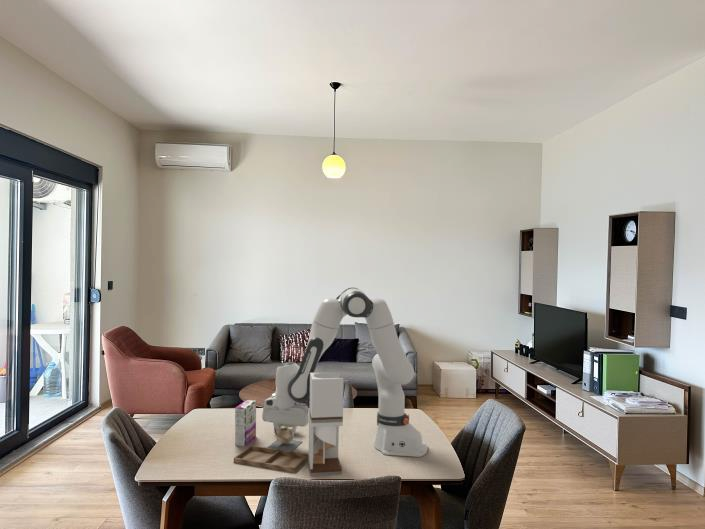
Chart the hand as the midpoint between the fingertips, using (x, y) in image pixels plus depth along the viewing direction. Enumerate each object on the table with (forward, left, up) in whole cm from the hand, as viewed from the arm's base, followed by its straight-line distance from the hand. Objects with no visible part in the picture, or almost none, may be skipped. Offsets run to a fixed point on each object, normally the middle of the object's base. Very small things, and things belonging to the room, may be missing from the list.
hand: (285, 433), depth 189 cm
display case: (-23, +14, -5) cm, 28 cm away
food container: (+7, -16, -5) cm, 18 cm away
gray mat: (0, 0, -5) cm, 5 cm away
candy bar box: (+18, +1, -5) cm, 19 cm away
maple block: (0, 0, -3) cm, 3 cm away
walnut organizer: (-2, +15, -5) cm, 16 cm away
